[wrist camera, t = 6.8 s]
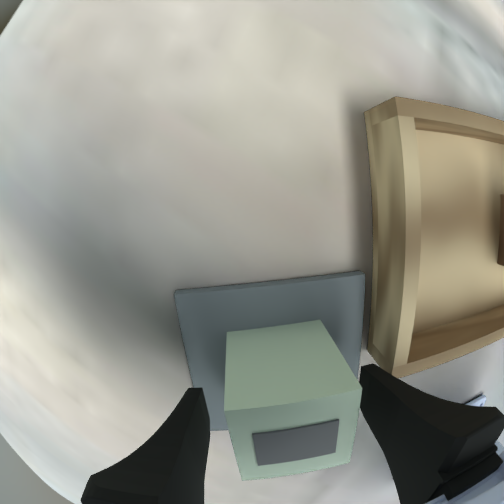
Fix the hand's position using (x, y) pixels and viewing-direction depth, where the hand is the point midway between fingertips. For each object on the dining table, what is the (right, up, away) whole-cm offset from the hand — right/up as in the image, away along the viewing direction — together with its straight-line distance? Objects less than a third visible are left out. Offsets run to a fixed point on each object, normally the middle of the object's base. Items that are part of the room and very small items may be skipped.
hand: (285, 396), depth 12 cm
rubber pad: (0, +1, +3) cm, 3 cm away
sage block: (0, +1, +2) cm, 2 cm away
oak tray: (+13, +8, +2) cm, 15 cm away
